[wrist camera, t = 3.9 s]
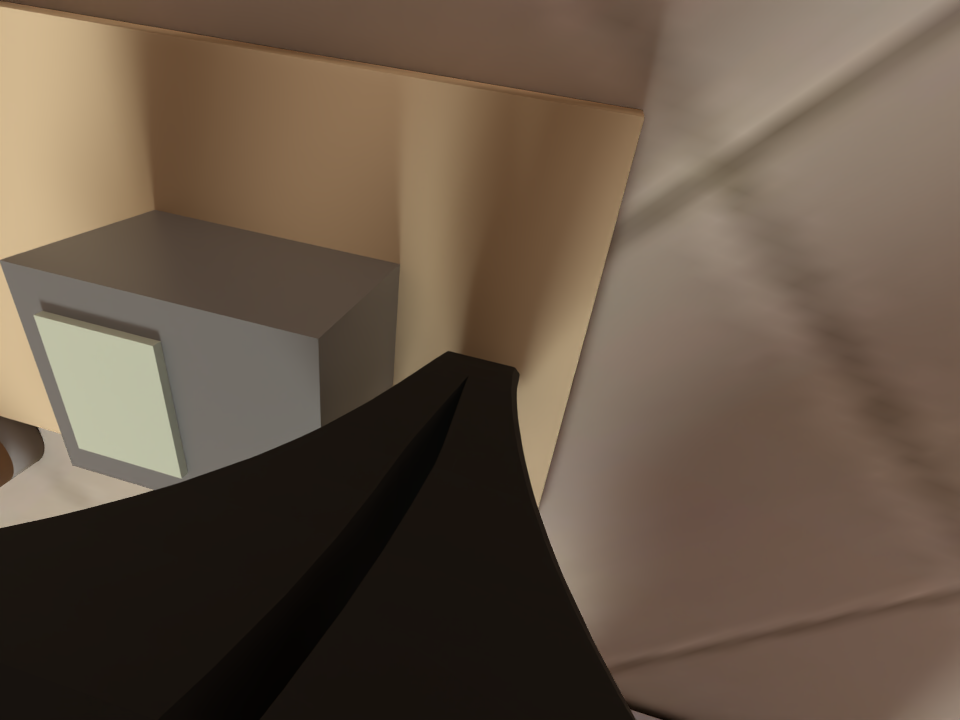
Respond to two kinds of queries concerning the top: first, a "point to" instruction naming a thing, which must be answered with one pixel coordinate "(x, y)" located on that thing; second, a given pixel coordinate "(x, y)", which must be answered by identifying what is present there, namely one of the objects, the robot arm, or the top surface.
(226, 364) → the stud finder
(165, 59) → the plywood board
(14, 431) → the brown cylinder
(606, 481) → the top surface
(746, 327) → the top surface
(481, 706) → the robot arm
